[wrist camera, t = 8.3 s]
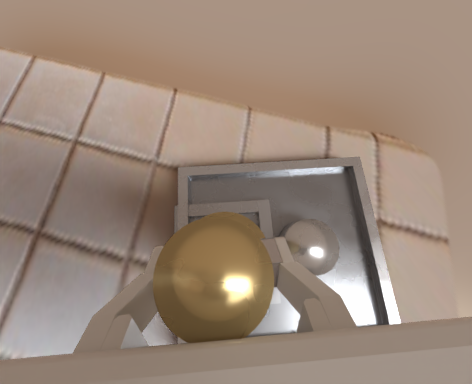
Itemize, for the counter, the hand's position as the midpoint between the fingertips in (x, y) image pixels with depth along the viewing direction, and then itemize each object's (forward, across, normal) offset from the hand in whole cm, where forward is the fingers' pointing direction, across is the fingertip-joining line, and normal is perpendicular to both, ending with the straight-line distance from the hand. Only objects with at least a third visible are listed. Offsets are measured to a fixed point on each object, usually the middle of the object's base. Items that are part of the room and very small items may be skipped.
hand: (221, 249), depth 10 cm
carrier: (+7, -5, +8) cm, 12 cm away
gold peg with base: (+4, 0, +4) cm, 6 cm away
